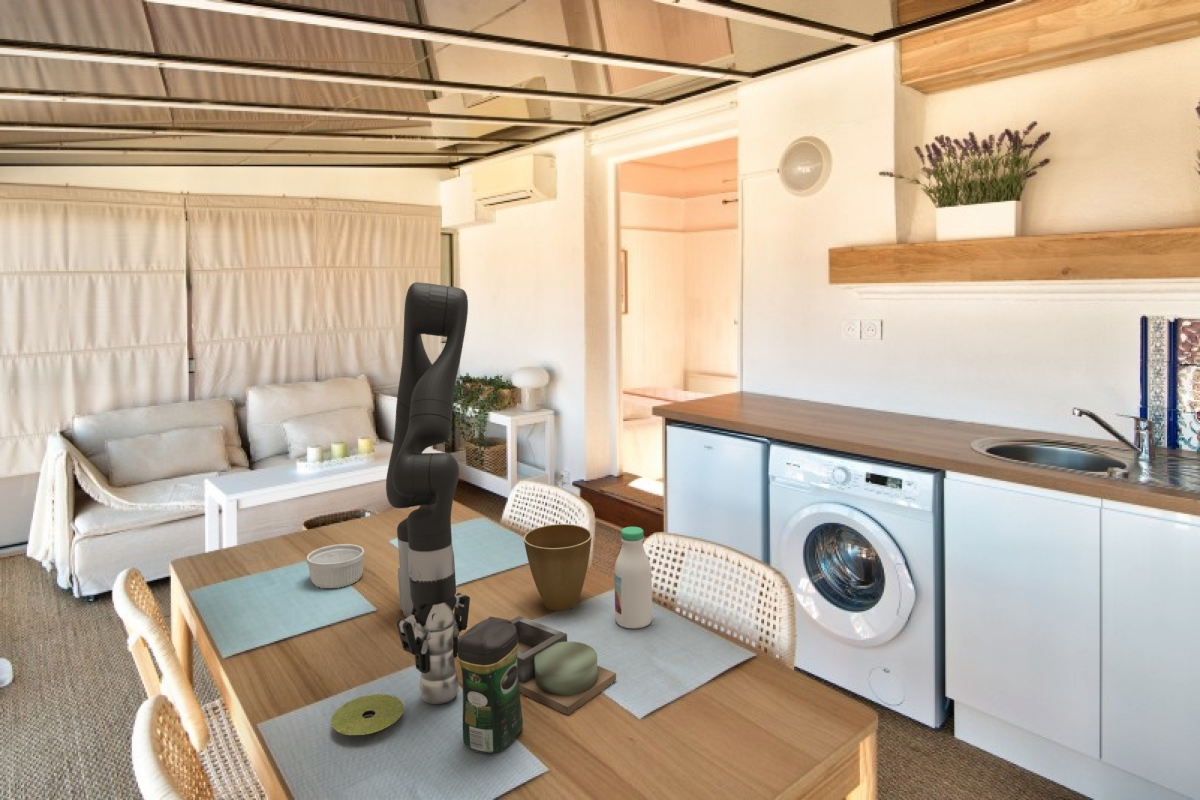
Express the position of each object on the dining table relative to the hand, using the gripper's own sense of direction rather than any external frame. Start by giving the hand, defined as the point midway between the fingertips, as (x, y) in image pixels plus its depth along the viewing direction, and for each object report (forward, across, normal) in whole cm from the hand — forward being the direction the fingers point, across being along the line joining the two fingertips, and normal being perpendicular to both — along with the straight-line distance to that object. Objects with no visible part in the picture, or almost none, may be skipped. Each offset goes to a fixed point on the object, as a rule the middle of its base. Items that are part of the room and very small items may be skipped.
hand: (437, 663), depth 123 cm
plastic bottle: (+7, 0, 0) cm, 7 cm away
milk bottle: (+7, -43, +10) cm, 45 cm away
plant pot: (+7, -40, -8) cm, 41 cm away
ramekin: (+7, -18, -61) cm, 64 cm away
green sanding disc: (+7, +12, -4) cm, 14 cm away
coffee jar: (+7, +2, +15) cm, 17 cm away
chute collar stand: (+6, -16, +9) cm, 19 cm away
